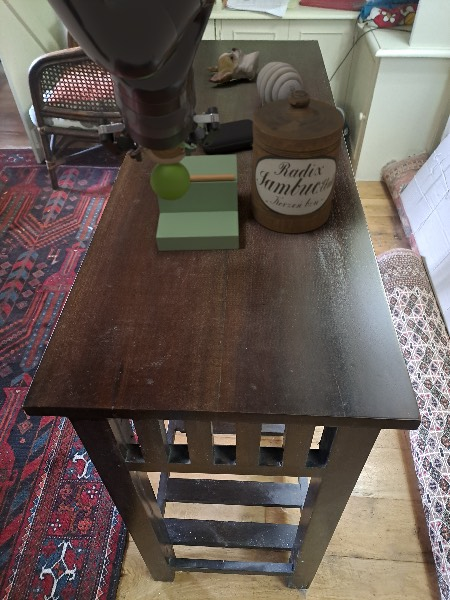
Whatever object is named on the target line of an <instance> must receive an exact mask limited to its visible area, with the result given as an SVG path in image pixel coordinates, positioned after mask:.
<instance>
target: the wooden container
mask: <svg viewBox="0 0 450 600" xmlns="http://www.w3.org/2000/svg"><path fill="white" fill-rule="evenodd" d="M252 117H253V118H252V121H253V147H252V162H251V163H252V164H251V190H250V191H251V192H250V193H251V195H250V196H251V197H250V202H251V203H250V205H251V207H250V209H251V214H252V216H253V218H254V219H255V220H256V222H257V223H258V224H260V225H261V226H262V227H264V228H266V229H268V230H271V231H274V232H278V233H283V234H303V233H306V232H307V233H308V232H311V231H313V230H314V231H315V230H316V229H318V228H320V227H321V226H323V225H324V224H325V223H326V222H327V221H328V219H329V218H330V214H331V209H332V202H333V198H334V193H335V186H336V181H337V173H338V165H339V158H340V152H341V145H342V143H341V142H342V137H343V130H344V123H345V118H344V115H343V112H341V110H339V109H338V108H337V107H336V106H334V105H332V104H330V103H328V102H325V101H323V100H319V99H313V98H311V94H309V92H307V91H304V90H302V91H301V90H297V91H295V92H294V93H292V94H291V95H290V96H289V98H286V99H280V100H276V101H272V102H269V103H267V104H265V105H263V106H262V105H261V106H260V107H259V108H257V109H256V111H255V112H254V114H253V116H252Z"/></svg>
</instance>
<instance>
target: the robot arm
mask: <svg viewBox="0 0 450 600" xmlns="http://www.w3.org/2000/svg"><path fill="white" fill-rule="evenodd" d="M46 2H47V3H48V4H49V6H50V7H51V9H52V10H53V12H54V13H55V14H56V16H57V17H58V19H59V20H60V21H61V23H62V25H63V26H64V27H65V29H66V30H67V31H68V33H69V34H70V36H71V37H72V38H73V40H74V41H75V42H76V43H77V45H78V46H79V47H80V48H81V50H82V51H83V52H84V54H85V55H86V56H87V57H88V58H89V59H90V60H91V61H93V63H95V64H96V66H98V67H99V68H101V69H102V70H103V71H105V72H106V73H108V74H109V75H110V78H111V81H112V83H113V92H114V93H113V94H114V98H115V101H116V104H115V105H116V108H117V111H118V112H119V115H120V116H121V119H120V121H119V122H115V121H110V120H109V119H108V118H104V117H100V118H98V119H96V124H97V130H98V138H99V143H100V144H101V145H102V146H103V147H104V148H105V149H106V150H107V151H108V152H109V153H110V154H111V155H112V156H116V157H119V156H122V155H124V152H125V153H127V155H128V156H129V157H130V159H131V160H136V162H137V163H141V162H143V156H142V153H144V152H145V151H146V150H148V149H150V150H154V151H165V150H169V149H172V148H175V147H176V146H178V147H180V148H184V152H185V153H186V155H185V156H186V157H187V156H192V153H195V152H196V151H197V148H198V145H200V144H199V143H202V145H203V146H209V145H211V144H212V142H213V141H214V139H215V138H216V136H217V135H218V133H219V131H220V130H221V128H220V124H221V122H220V113H219V108H218V106H210V107H208V108H207V109H206V111H203V112H201V114H197V113H196V111H195V108H196V106H197V95H196V93H197V92H196V82H195V81H196V80H195V65H196V63H195V61H196V60H195V58H196V54H197V52H198V50H199V47H200V44H201V43H202V40H203V37H204V34H205V32H206V29H207V27H208V23H209V21H210V17H211V15H212V12H213V9H214V6H215V2H216V0H46ZM198 127H199V128H198ZM121 135H122V136H121Z"/></svg>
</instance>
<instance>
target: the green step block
mask: <svg viewBox="0 0 450 600" xmlns="http://www.w3.org/2000/svg"><path fill="white" fill-rule="evenodd" d="M237 159H238V158H237V154H207V155H206V154H205V155H191V156H187V157H186V155H185V157H184V158H183V159H182V160H181V161H180V163H182V164H183V165H184V166H185V167H186V168H187V170H188V172H189V175H190V187H189V189H188V191H187V193H186V194H185V195H184V196H183V197H181V198H180V199H177V200H173V201H169V200H164V199H162V198H160V197H159V196H158V195H157V194H156V196H157V202H158V208H159V217H158V224H157V229H156V236H155V240H156V245H157V246H156V247H157V250H158V251H159V252H160V251H161V252H165V251H166V252H167V251H168V252H169V251H207V250H208V251H210V250H239V249H240V243H239V242H240V239H239V238H240V237H239V236H240V235H239V234H240V233H239V232H240V231H239V211H238V210H239V202H238V201H239V200H238V199H239V197H238V191H239V190H238V189H239V188H238V160H237Z"/></svg>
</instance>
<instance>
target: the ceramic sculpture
mask: <svg viewBox="0 0 450 600" xmlns="http://www.w3.org/2000/svg"><path fill="white" fill-rule="evenodd" d="M260 52H261V51H260V50H257V51H253V52H250V53H247V54H245V53H244V52H243V51H242V50H241V49H239V48H238V47H237V48H236V47H232V48H231V51H228V52H224V53H222V54H221V55H220V56H219V57H218V59H217V63H216V64H217V65H214V66H212V67H209V66H207V67H205V70H206V71H208V70H209V71H208V72H210V71H211V72H210V73H212V72H218V73H217V74H214V75H213V76H212V77H211V78H208V79H207V82H209V83H212V84H216V83H224V82H226V83H232V82H233V81H230V80H232V79H239V80H241V79H240V78H243V79H247V78H249V79H253V80H254V78H255V76H256V73H257V71H258V69H259V64H260ZM227 81H228V82H227ZM249 81H250V82H251V81H252V80H249ZM224 84H225V83H224Z"/></svg>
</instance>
